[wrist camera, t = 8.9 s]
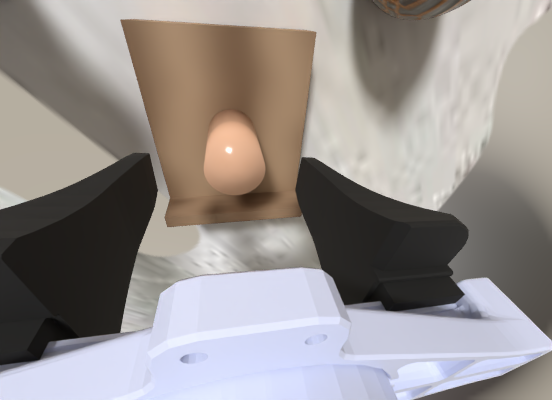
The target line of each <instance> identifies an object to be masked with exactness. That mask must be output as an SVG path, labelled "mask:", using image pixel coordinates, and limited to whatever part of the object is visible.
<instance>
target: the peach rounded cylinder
mask: <svg viewBox="0 0 552 400" xmlns="http://www.w3.org/2000/svg"><path fill="white" fill-rule="evenodd" d="M204 175H205V178H206V180H207V181H208V183H209V184H210V185H211V186H212V187H213V188H214V189H216V190H217V191H219V192H221V193H224V194H227V195H242V194H246V193H248V192H250V191H252V190H254V189H255V188H256V187H257V186H258V185H259V184H260V183H261V182H262V180H263V178H264V175H265V162H264V159H263V155H262V152H261V148H260V145H259V141H258V138H257V134H256V131H255V128H254V124H253V122H252V121H251V119H250V118H249V117H248V116H247V115H246V114H245V113H243V112H241V111H238V110H234V109H228V110H223V111H221V112H219V113H217V114H216V115H215V116H214V117H213V118H212V120H211V122H210V124H209V129H208V137H207V145H206V153H205V161H204Z"/></svg>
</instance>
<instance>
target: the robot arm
mask: <svg viewBox="0 0 552 400" xmlns="http://www.w3.org/2000/svg"><path fill="white" fill-rule="evenodd" d="M157 192H158V189H157V185H156V181H155V176H154V172H153V167H152V163H151V159H150V154H149V153H133V154H131V155H129V156H127V157H125V158H123V159H121V160H119V161H117V162H116V163H114V164H112V165H111V166H108V167H107V168H105V169H103V170H101V171H99V172H97V173H95V174H93V175H92V176H89V177H87V178H85V179H83V180H81V181H79V182H77V183H75V184H73V185H70V186H68V187H66V188H64V189H61V190H58V191H56V192H53V193H51V194H48V195H45V196H42V197H39V198H36V199H33V200H30V201H27V202H24V203H21V204H18V205H15V206H12V207H8V208H5V209H1V210H0V400H413V399H416V398H419V397H423V396H426V395H430V394H433V393H436V392H440V391H443V390H447V389H450V388H454V387H458V386H461V385H465V384H468V383H472V382H476V381H480V380H484V379H488V378H493V377H497V376H500V375H503V374H505V373H507V372H509V371H511V370H513V369H515V368H517V367H519V366H521V365H523V364H525V363H527V362H529V361H531V360H533V359H536V358H538V357H540V356H542V355H544V354H546V353H548V352H550V351H552V341H551V340H550V339H549V338H548V337H547V336H546V335H545V334H544V333H543V332H542V331H541V330H540V329H539V328H538V327H537V326H536V325H535V324H534V323H533V322H532V321H531V320H530V319H529V318H528V317H527V316H526V315H525V314H524V313H523V312H522V311H521V310H520V309H519V308H518V307H517V306H516V305H515V304H514V303H512V301H511V300H510V299H509V298H507V296H506V295H505V294H503V292H501V291H500V290H499V289H498V288H497V287H496V286H495V285H494V284H493V283H492V282H491V281H490V280H489V279H488V278H475V279H466V280H462V281H459V282H457V283H455V282H454V281H453V280H452V279H451V278H450V276H451V275H452V274H453V271H452V270H451V268H449V266H448V263H449V262H450V261H451V260H452V259H453V258H454V257H455V256H456V254H457V253H458V252H459V251H460V250H461V249H462V247H463V246H464V245H465V244H466V241H467V239H468V229H467V227H466V226H465V225H464V224H463V223H462V222H460V221H459V220H458V219H457V218H456V217H454V216H453V215H451V214H447V213H442V212H438V211H433V210H429V209H424V208H420V207H417V206H413V205H410V204H406V203H403V202H400V201H397V200H394V199H391V198H388V197H386V196H383V195H380V194H378V193H376V192H373V191H371V190H369V189H367V188H365V187H363V186H361V185H359V184H357V183H355V182H353V181H351V180H350V179H348V178H346V177H344V176H343V175H341V174H339V173H338V172H336V171H335V170H333V169H332V168H330V167H328V166H327V165H325V164H324V163H322V162H320V161H319V160H317V159H315V158H306V157H302V159H301V164H300V168H299V173H298V178H297V183H296V188H295V192H296V196H297V200H298V204H299V207H300V209H301V212H302V214H303V217H304V219H305V221H306V224H307V226H308V228H309V231H310V233H311V236H312V238H313V241H314V243H315V247H316V250H317V253H318V257H319V260H320V264H321V268H322V270H321V269H316V268H306V267H295V268H282V269H270V270H257V271H245V272H232V273H220V274H207V275H200V276H196V277H191V278H187V279H183V280H180V281H178V282H176V283H175V284H173V285H172V286H170V287H169V288H168V289H166V290H165V291H163V292H162V293H161V294H160V297H159V301H158V306H157V310H156V315H155V319H154V324H153V327H150V328H146V329H143V330H140V331H133V332H125V333H120V331H121V324H122V319H123V314H124V308H125V303H126V298H127V293H128V289H129V284H130V280H131V275H132V271H133V267H134V263H135V259H136V255H137V252H138V249H139V246H140V244H141V241H142V239H143V236H144V234H145V231H146V228H147V226H148V223H149V221H150V218H151V216H152V213H153V210H154V207H155V203H156V197H157Z"/></svg>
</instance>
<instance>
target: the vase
mask: <svg viewBox="0 0 552 400" xmlns="http://www.w3.org/2000/svg"><path fill="white" fill-rule="evenodd" d="M469 1H471V0H373V2H374V3H375V4H376V5H377V6H378V7H379V8H380V9H381V10H382V11H384V12H385V13H387V14H389V15H391V16H393V17H396V18H401V19H407V20H422V19H428V18H433V17H436V16H440V15H442V14H445V13H448V12H450V11H452V10H454V9H456V8H458V7H460V6H462V5H464V4H466V3H467V2H469Z"/></svg>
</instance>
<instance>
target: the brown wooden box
mask: <svg viewBox="0 0 552 400" xmlns="http://www.w3.org/2000/svg"><path fill="white" fill-rule="evenodd" d="M121 24H122V27H123V31H124V34H125V38H126V41H127V45H128V49H129V52H130V56H131V59H132V63H133V67H134V70H135V74H136V77H137V81H138V84H139V88H140V92H141V95H142V99H143V102H144V106H145V109H146V113H147V117H148V120H149V124H150V127H151V131H152V134H153V138H154V142H155V145H156V149H157V152H158V156H159V159H160V163H161V167H162V170H163V174H164V177H165V181H166V184H167V188H168V192H169V195H170V201H169V204H168V208H167V211H166V215H165V220H166V224H167V227H174V226H187V225H200V224H212V223H225V222H237V221H250V220H262V219H275V218H287V217H300V216H301V215H302V212H301V209H300V207H299V204H298V200H297V196H296V192H295V188H296V183H297V176H298V168H299V161H300V153H301V145H302V138H303V130H304V122H305V115H306V107H307V99H308V92H309V84H310V76H311V69H312V61H313V53H314V46H315V38H316V32H313V31H307V30H294V29H279V28H263V27H247V26H232V25H216V24H200V23H185V22H169V21H153V20H138V19H126V20H121ZM228 109H234V110H238V111H241V112H243V113H245V114H246V115H247V116H248V117H249V118H250V119H251V121H252V122H253V124H254V128H255V131H256V134H257V138H258V141H259V145H260V148H261V152H262V155H263V159H264V162H265V175H264V178H263V180H262V182H261V183H260V184H259V185H258V186H257V187H256V188H255V189H254V190H252V191H250V192H248V193H246V194H242V195H227V194H224V193H221V192H219V191H217V190H216V189H214V188H213V187H212V186H211V185H210V184H209V183H208V181H207V180H206V178H205V175H204V161H205V153H206V145H207V137H208V129H209V124H210V122H211V120H212V118H213V117H214V116H215V115H216V114H217V113H219V112H221V111H223V110H228Z"/></svg>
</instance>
